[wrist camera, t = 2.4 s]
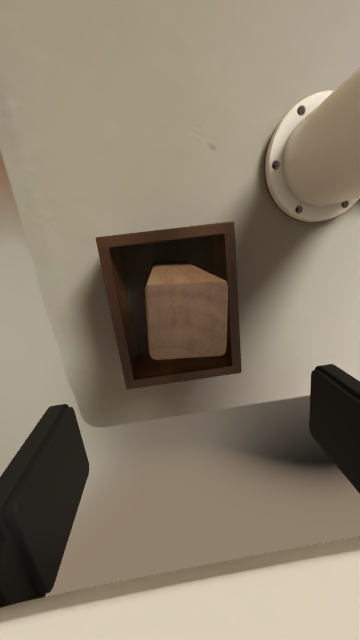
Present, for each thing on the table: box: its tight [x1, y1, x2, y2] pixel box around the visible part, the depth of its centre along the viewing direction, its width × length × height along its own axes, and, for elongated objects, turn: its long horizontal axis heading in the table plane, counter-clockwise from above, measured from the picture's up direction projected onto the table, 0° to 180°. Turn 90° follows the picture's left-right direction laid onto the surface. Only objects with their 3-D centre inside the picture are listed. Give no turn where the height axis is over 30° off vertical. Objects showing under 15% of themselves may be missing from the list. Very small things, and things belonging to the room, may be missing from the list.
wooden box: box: [96, 221, 241, 389], centre depth 28 cm, size 13×16×7 cm
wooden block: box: [145, 262, 228, 360], centre depth 23 cm, size 9×4×18 cm, turn 2°
